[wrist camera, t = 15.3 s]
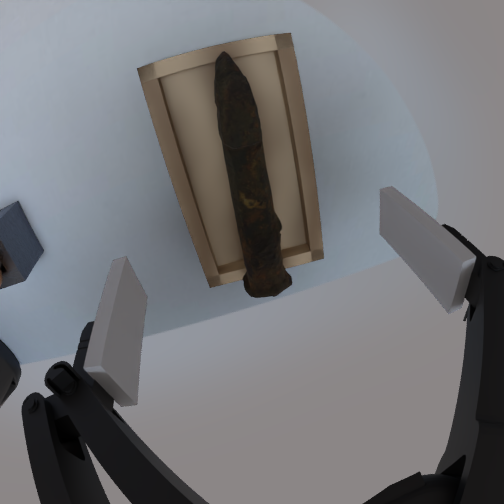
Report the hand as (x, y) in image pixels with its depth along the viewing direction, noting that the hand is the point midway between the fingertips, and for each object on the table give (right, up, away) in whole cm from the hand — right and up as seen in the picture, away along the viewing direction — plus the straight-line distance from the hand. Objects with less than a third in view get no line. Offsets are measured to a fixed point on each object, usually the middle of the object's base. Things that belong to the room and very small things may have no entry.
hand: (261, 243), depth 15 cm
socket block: (-25, +1, +10) cm, 27 cm away
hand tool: (-1, +5, +9) cm, 10 cm away
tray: (-1, +7, +10) cm, 13 cm away
